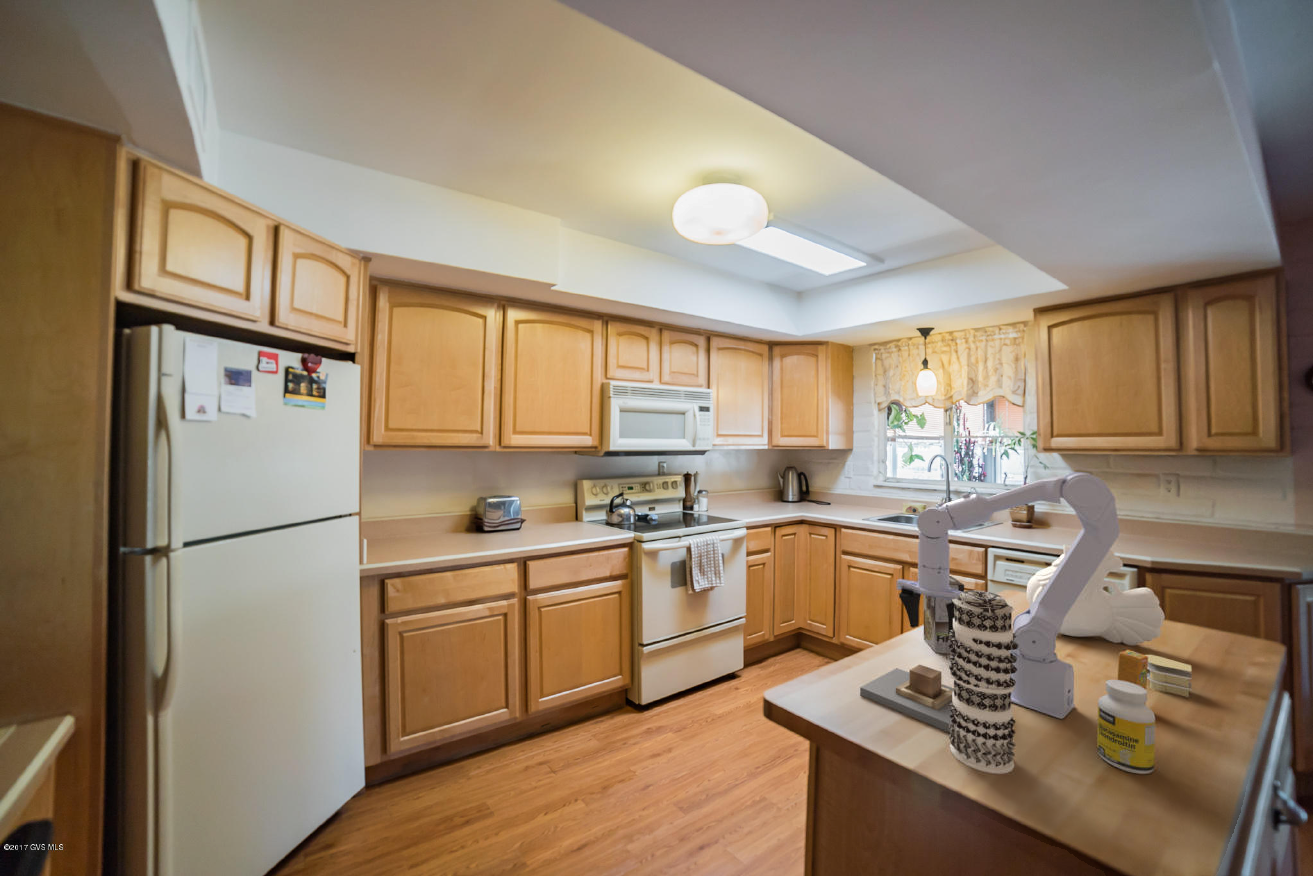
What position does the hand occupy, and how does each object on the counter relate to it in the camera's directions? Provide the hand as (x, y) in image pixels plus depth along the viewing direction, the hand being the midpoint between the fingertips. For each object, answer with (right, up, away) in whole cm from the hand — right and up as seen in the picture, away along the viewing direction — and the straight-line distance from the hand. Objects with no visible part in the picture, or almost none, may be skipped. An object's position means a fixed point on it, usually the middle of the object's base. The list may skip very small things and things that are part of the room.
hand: (932, 631), depth 107 cm
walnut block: (-7, -9, -11) cm, 16 cm away
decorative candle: (-7, -9, -27) cm, 29 cm away
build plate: (-7, -9, -11) cm, 16 cm away
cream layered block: (+45, -11, -4) cm, 46 cm away
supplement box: (+31, -10, -11) cm, 34 cm away
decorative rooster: (+51, -10, +22) cm, 57 cm away
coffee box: (+11, -10, +16) cm, 22 cm away
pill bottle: (+14, -10, -28) cm, 33 cm away
